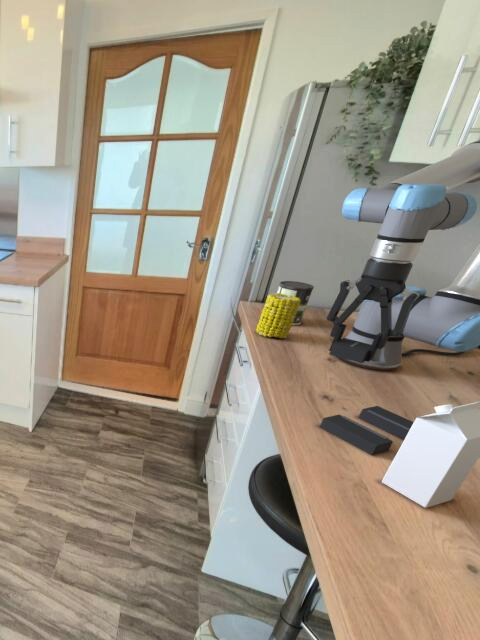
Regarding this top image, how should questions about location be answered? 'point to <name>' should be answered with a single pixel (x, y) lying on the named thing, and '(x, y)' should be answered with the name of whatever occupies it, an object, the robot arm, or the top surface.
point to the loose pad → (350, 350)
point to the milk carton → (437, 455)
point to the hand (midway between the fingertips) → (350, 354)
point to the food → (278, 315)
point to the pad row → (364, 435)
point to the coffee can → (297, 291)
